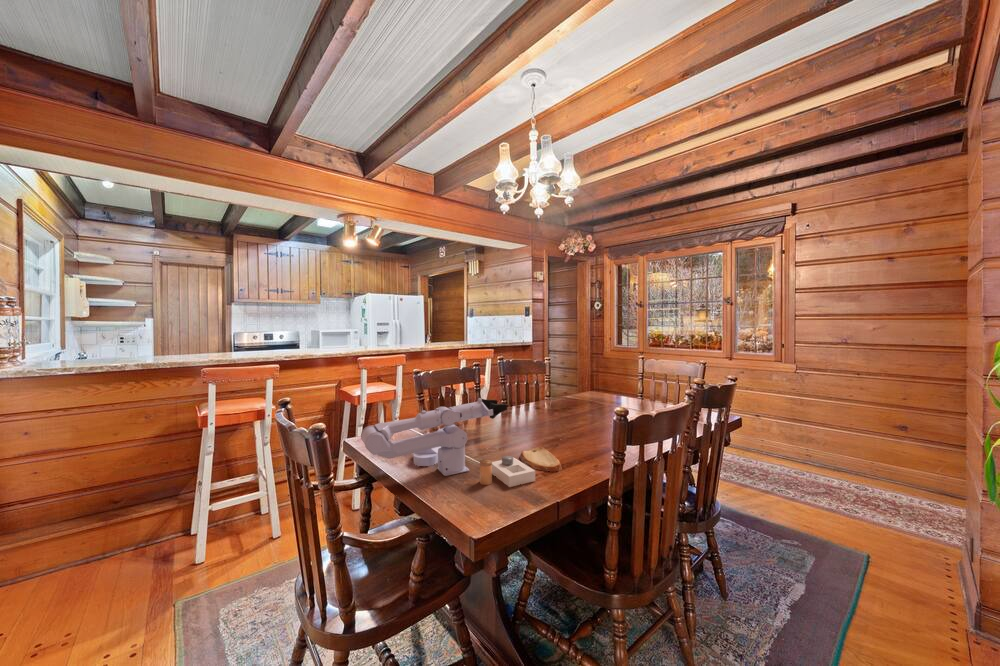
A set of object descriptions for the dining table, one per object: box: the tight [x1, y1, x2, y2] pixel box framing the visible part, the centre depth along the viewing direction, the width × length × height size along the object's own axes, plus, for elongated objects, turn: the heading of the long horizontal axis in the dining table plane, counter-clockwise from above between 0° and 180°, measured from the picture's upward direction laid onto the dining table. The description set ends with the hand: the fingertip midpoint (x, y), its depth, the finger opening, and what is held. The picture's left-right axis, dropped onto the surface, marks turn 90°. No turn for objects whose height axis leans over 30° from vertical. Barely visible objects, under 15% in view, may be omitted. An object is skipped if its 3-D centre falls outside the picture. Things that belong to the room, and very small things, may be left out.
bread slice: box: [519, 446, 563, 473], centre depth 147 cm, size 18×18×4 cm
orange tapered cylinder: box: [479, 458, 493, 486], centre depth 128 cm, size 4×4×7 cm
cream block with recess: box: [492, 455, 536, 488], centre depth 133 cm, size 10×14×6 cm
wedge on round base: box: [413, 446, 441, 467], centre depth 148 cm, size 9×7×13 cm
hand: (501, 404), depth 147 cm, fingers open, 7 cm apart
